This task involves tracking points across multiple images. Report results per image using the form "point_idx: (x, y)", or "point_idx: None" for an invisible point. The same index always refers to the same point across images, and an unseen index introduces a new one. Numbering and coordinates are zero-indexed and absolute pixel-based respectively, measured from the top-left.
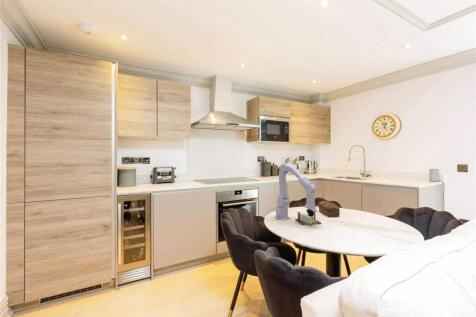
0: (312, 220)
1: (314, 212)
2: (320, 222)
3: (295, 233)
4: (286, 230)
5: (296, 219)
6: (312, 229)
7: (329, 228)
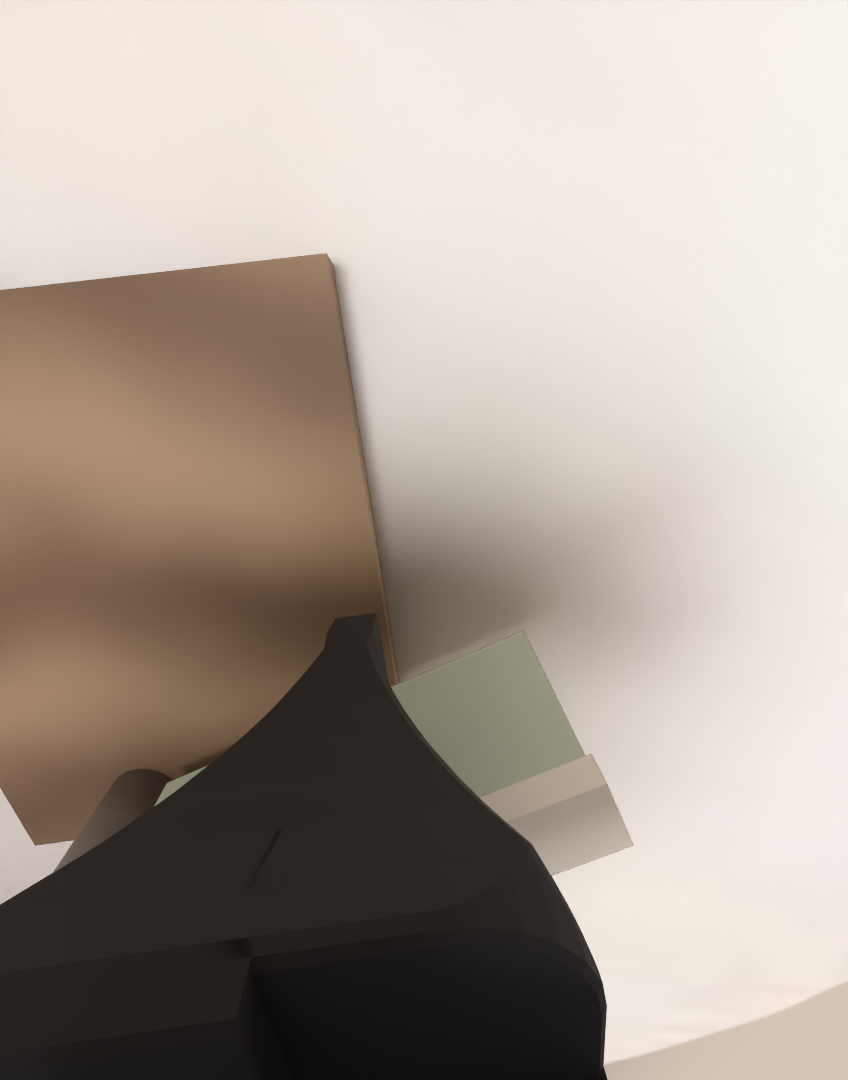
0: (109, 474)
1: (493, 822)
2: (324, 281)
3: (782, 914)
4: (631, 984)
5: (74, 826)
6: (708, 653)
7: (786, 194)
